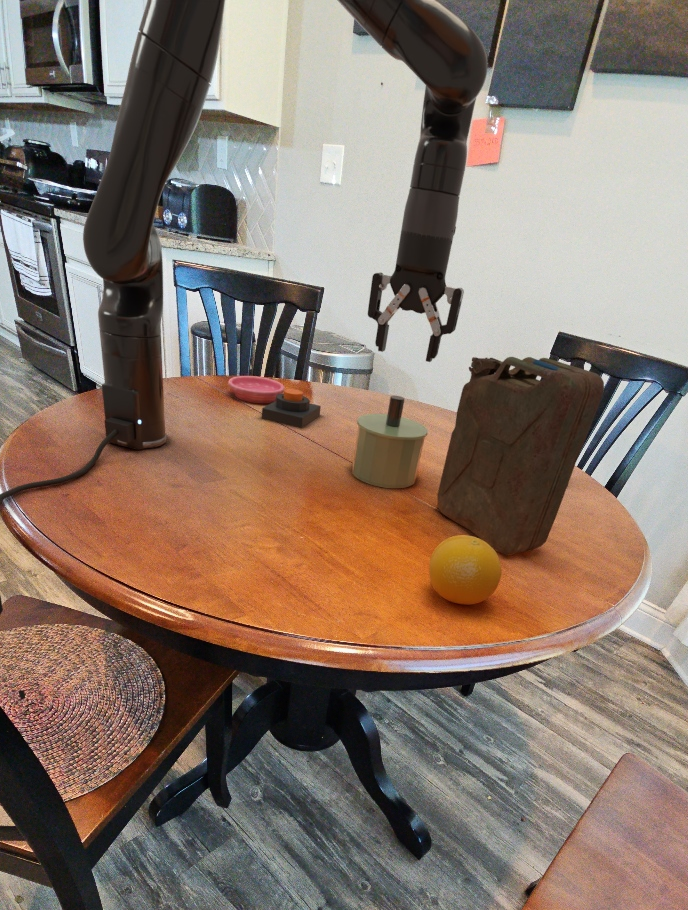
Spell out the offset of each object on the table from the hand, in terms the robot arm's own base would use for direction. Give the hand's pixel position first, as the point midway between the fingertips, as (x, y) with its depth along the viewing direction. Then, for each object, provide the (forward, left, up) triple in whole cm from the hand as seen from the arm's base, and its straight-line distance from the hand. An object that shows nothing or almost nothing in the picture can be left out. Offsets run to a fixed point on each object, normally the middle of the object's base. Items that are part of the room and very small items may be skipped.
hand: (405, 355), depth 93 cm
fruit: (-35, -19, -20) cm, 45 cm away
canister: (-12, -20, -20) cm, 31 cm away
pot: (0, 0, -20) cm, 20 cm away
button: (+20, +26, -16) cm, 37 cm away
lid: (0, 0, -11) cm, 11 cm away
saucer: (+28, +38, -20) cm, 51 cm away
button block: (+20, +26, -20) cm, 38 cm away
